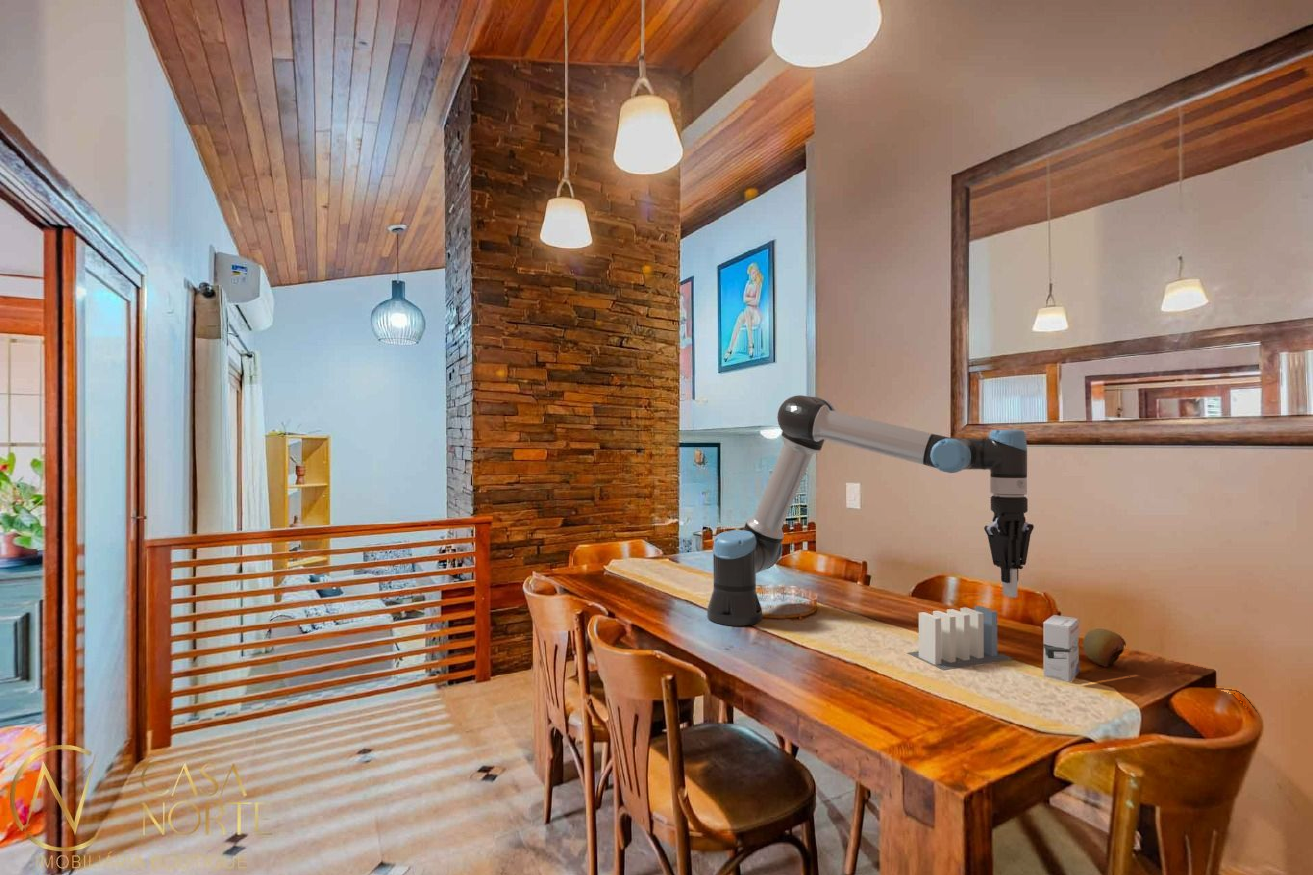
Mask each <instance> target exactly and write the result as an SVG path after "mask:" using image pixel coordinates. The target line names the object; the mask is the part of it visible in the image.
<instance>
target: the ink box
mask: <svg viewBox="0 0 1313 875" xmlns="http://www.w3.org/2000/svg"><path fill="white" fill-rule="evenodd" d="M1079 622H1080V621H1079V618H1077V617H1071V616H1064V615H1057V614H1053V615H1052V616H1050V617H1048V618H1047V619H1046V620H1044V622H1042V625H1043V633H1042V634H1043V654H1042V655H1043V656H1042V657H1043V664H1042V665H1043V677H1045V678H1049V679H1054V680H1056V681H1061V682H1064V683H1071V682H1072V681H1073V680H1074V679H1075V677H1076V676H1078V674H1079V673H1080V659H1079V658H1080V652H1079V650H1080V648H1079V646H1080V645H1079V643H1080V642H1079V638H1080V637H1079V634H1080V632H1079V631H1080V630H1079V628H1080V626H1079V625H1080V624H1079Z"/></svg>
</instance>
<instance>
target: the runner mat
mask: <svg viewBox="0 0 1313 875" xmlns="http://www.w3.org/2000/svg"><path fill="white" fill-rule="evenodd" d="M907 654H908V655H910V656H912V657H914V658H916V659H918V660H921V661H923V662H925V663H926V664H929V665H932V666H933V667H935V668H937V669H939V670H942V671H948V670H954V669H955V670H956V669H962V668H969V667H973V666H981V665H987V664H993V663H999V662H1000V663H1001V662H1006V661H1007V662H1008V661H1012V660H1013V661H1014V660H1015V658H1013V657H1010V656H1007V655H1005V654H1003V653H1000V652H997V656H990V655H987V654H985V653H984V658H976V657H974V656H971V655H970V660H962V659H960V658H957V657H956V662H951V663H950V662H947V661H945V660H943V659H941V664H938V665H935V664H933V663H930V662H928V661H926V660H924V659H922V658H920V657H919V650H917V651H912V652H911V651H910V652H907Z"/></svg>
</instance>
